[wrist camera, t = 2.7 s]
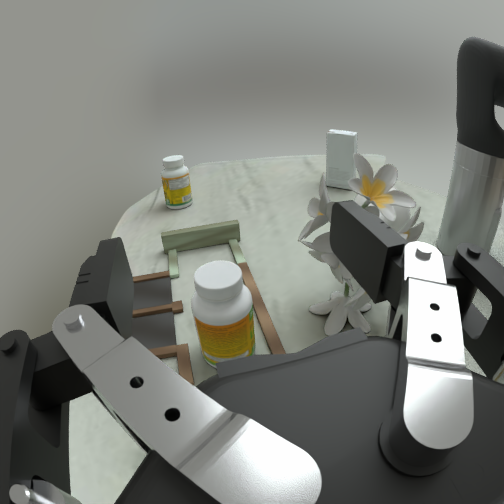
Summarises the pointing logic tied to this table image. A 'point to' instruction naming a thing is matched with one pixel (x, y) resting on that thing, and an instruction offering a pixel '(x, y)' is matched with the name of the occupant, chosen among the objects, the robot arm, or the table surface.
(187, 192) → the supplement bottle
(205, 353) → the supplement bottle
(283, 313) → the table surface
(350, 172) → the skincare box
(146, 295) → the lane board
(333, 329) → the flower vase
